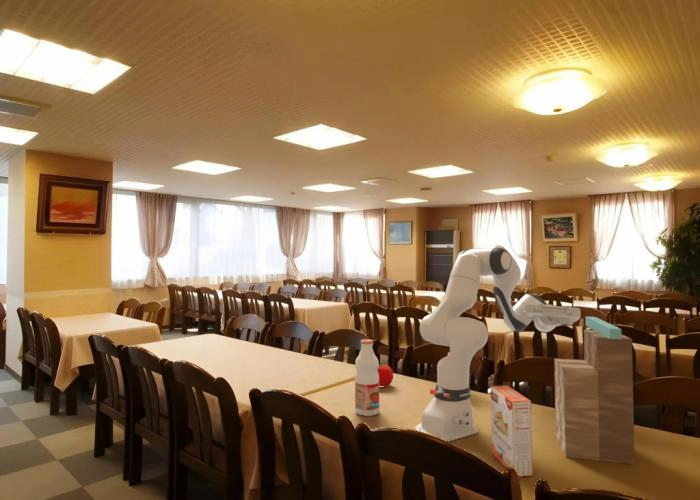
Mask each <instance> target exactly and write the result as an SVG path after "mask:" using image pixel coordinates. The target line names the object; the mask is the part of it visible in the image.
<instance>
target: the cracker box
mask: <svg viewBox="0 0 700 500" xmlns="http://www.w3.org/2000/svg"><path fill="white" fill-rule="evenodd" d="M490 404H491V406H490V409H491V410H490V411H491V412H490V414H491V453H492V455H493V456H494V457H495V459H497V460H498V461H499V463H500V464H501V465H502V466H503V467H504V468H505V467H513V468H514V469H515V470H516V472H517V473H518V476H519V477H518V478H524V477H523V476H526V477H533V476H534V475H533V474H534V473H533V472H534V471H533V467H534V466H533V433H532V432H533V431H532V429H533V428H532V427H533V426H532V422H533V421H532V401H531V400H530V399H529V398H527V397H526V396H524V395H522V394H521V393H520V392H518V391H516V390H515V389H514V388H512V387H510V386H509V385H493V386H490Z"/></svg>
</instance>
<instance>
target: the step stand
mask: <svg viewBox="0 0 700 500" xmlns="http://www.w3.org/2000/svg"><path fill="white" fill-rule="evenodd" d="M553 359H554V361H553V363H554V401H555V402H554V412H555V413H554V415H555V418H554V419H555V421H554V422H555V438H556V440H557V443H558V444H559V446H560V448H561V450H562V452H563V454H564V456H565V458H572V459H580V460H590V461H601V462H607V463H608V462H609V463H618V464H619V463H620V464H625V465H626V464H627V465H635V426H634V425H635V423H634V421H635V419H634V418H635V417H634V376H633V375H634V373H633V372H634V371H633V370H634V369H633V368H634V367H633V339H632V338H630V337H628V336H626V335H625V334H622V333H621V339H609V338H607V337H605V336H604V335H602V334H600V333H598V332H597V331H595V330H593V329H583V359H572V358H569V359H568V358H553Z"/></svg>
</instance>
